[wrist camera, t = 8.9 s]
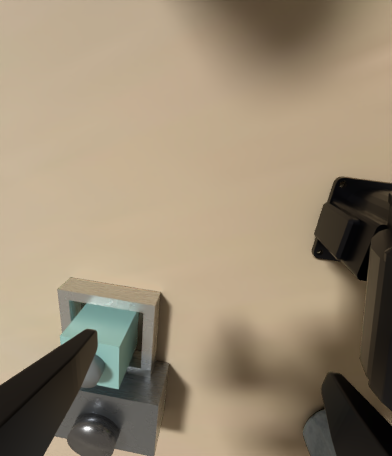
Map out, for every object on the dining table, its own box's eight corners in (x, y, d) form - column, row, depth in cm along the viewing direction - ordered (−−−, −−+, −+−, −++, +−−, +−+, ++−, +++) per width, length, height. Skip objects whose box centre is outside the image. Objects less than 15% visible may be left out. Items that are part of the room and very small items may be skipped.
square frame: (175, 294, 23) (160, 344, 18) (164, 410, 29) (150, 474, 24) (55, 274, 24) (5, 316, 18) (69, 392, 30) (34, 449, 24)
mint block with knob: (139, 306, 24) (112, 359, 18) (137, 344, 26) (112, 403, 20) (91, 298, 24) (50, 347, 19) (92, 335, 26) (55, 391, 21)
